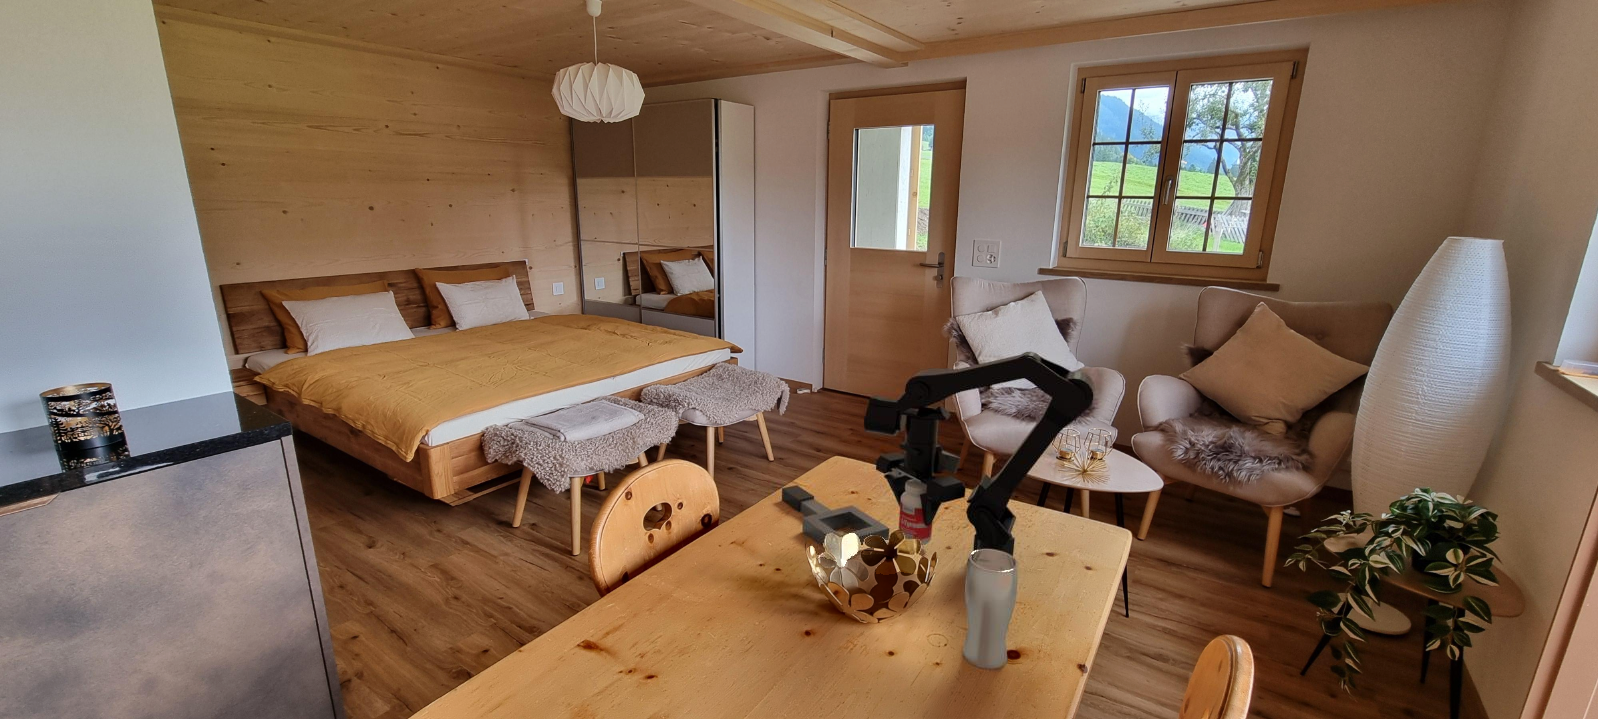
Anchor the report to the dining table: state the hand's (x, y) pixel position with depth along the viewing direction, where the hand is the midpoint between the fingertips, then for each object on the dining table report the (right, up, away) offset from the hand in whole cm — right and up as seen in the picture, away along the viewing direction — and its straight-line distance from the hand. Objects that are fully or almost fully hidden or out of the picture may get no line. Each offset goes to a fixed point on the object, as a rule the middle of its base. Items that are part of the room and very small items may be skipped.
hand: (916, 518), depth 129 cm
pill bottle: (0, -4, +1) cm, 4 cm away
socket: (-17, -3, +11) cm, 20 cm away
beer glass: (+5, -13, -30) cm, 33 cm away
